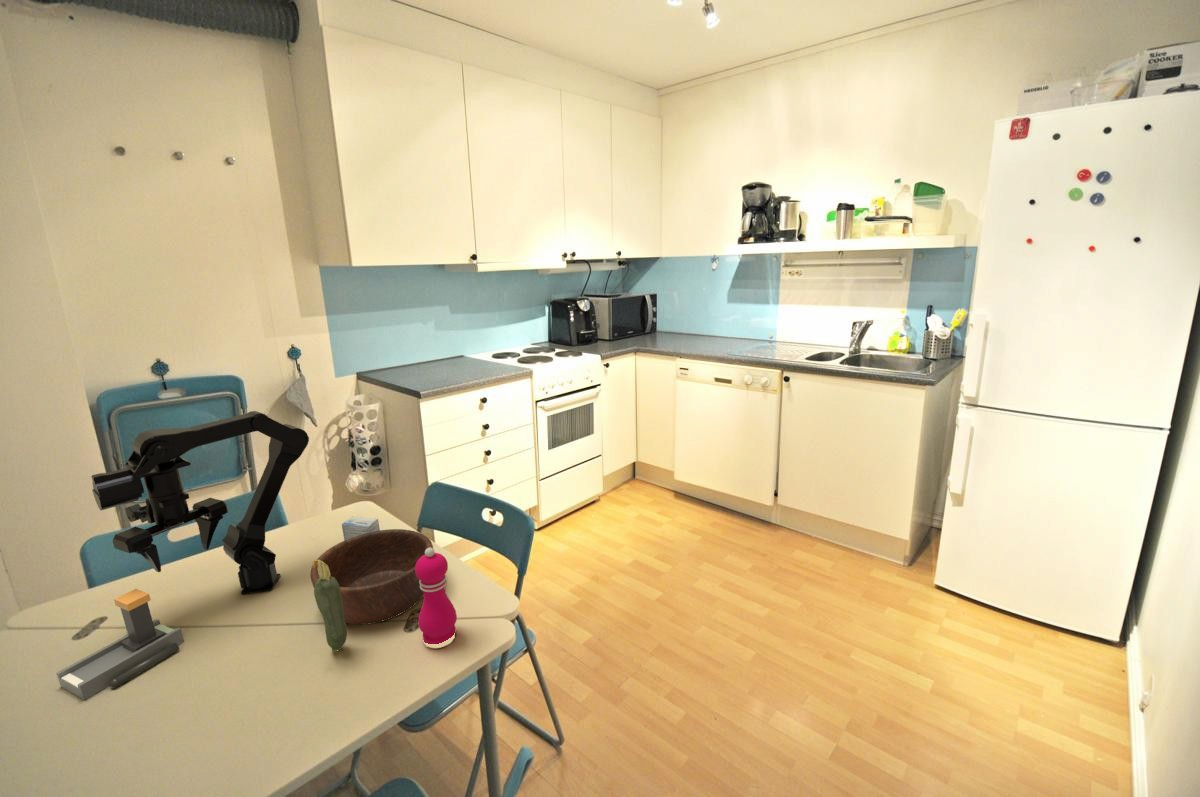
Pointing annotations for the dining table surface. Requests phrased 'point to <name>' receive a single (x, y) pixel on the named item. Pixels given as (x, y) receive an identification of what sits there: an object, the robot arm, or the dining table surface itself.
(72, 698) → the dining table surface
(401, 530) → the wooden bowl
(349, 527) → the medicine box
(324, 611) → the vegetable
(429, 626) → the pepper mill
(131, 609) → the orange-capped post
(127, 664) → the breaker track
